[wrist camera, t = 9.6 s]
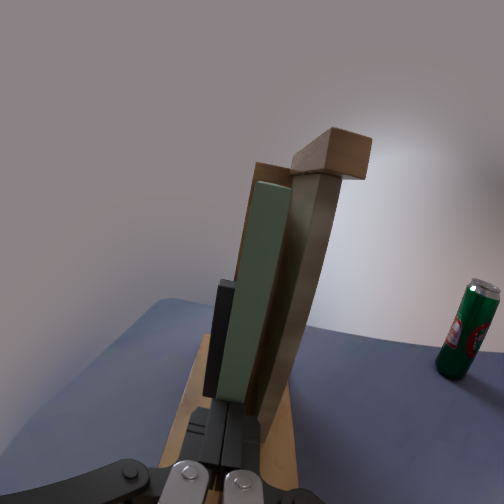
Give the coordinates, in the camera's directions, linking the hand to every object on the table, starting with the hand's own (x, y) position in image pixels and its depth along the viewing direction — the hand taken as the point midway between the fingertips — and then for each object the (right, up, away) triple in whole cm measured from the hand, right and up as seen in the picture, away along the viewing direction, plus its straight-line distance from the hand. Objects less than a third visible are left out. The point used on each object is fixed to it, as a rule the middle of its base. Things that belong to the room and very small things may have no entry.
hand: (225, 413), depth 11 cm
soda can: (+26, -8, +17) cm, 32 cm away
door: (-1, -4, +7) cm, 8 cm away
